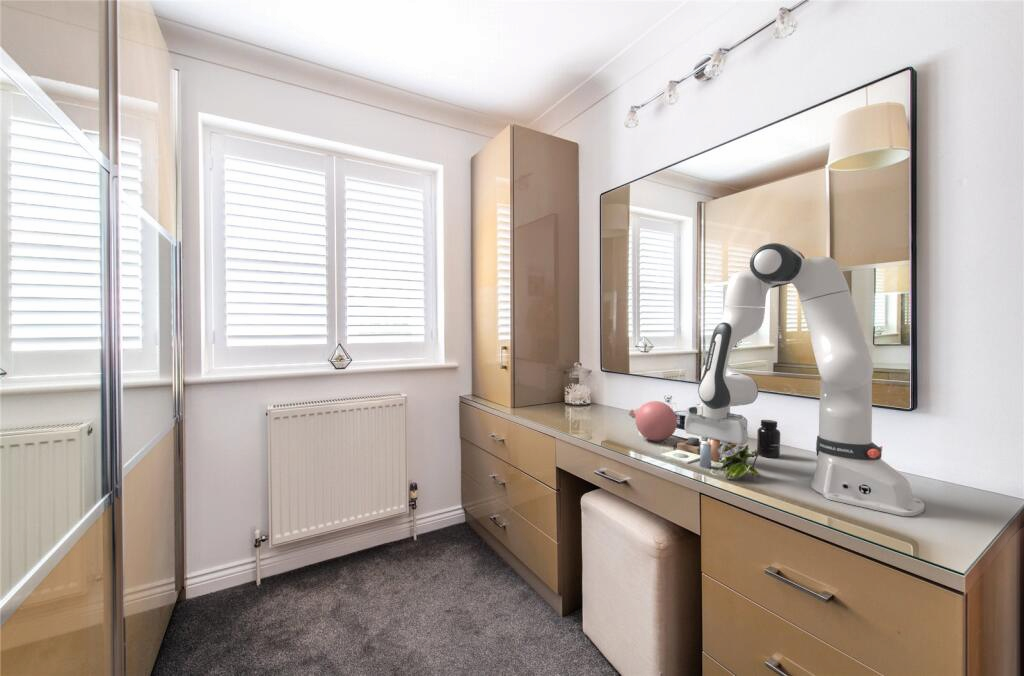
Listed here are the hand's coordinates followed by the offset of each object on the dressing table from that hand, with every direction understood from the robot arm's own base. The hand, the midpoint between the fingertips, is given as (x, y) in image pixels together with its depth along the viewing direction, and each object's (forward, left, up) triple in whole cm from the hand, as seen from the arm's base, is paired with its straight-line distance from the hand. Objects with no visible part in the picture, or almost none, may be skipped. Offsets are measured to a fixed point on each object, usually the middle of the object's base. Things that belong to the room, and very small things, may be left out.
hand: (714, 452), depth 141 cm
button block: (+10, -4, -3) cm, 11 cm away
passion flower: (-13, +9, -3) cm, 16 cm away
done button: (+10, -4, -1) cm, 11 cm away
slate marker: (-2, +9, -3) cm, 10 cm away
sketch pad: (+8, +6, -3) cm, 10 cm away
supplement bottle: (-8, -20, -3) cm, 22 cm away
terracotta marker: (0, 0, -3) cm, 3 cm away
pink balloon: (+29, -5, -3) cm, 30 cm away
